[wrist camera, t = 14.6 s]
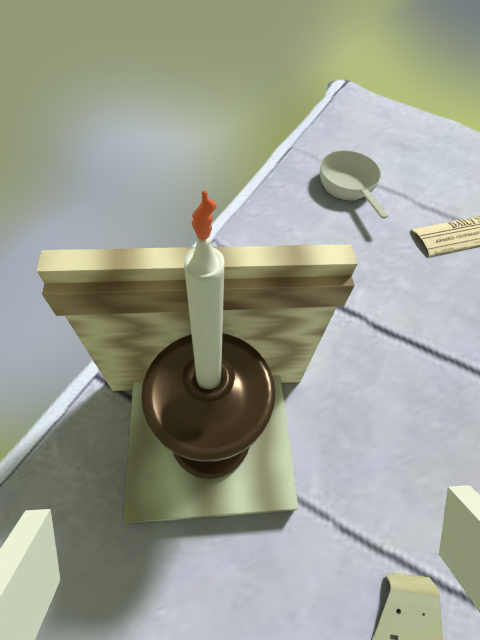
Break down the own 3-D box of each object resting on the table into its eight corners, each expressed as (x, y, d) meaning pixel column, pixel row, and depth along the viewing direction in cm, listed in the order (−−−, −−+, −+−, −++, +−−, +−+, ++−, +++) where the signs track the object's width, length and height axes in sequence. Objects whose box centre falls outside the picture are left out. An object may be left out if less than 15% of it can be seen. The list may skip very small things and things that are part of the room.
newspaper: (426, 259, 64) (431, 252, 62) (405, 229, 67) (409, 221, 66) (541, 235, 68) (548, 228, 67) (516, 208, 72) (522, 200, 70)
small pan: (357, 162, 75) (364, 145, 72) (404, 227, 67) (414, 210, 63) (307, 171, 73) (311, 153, 70) (349, 239, 64) (356, 222, 61)
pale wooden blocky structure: (297, 368, 51) (351, 244, 31) (320, 508, 43) (417, 466, 22) (114, 376, 49) (42, 250, 29) (98, 525, 41) (-21, 496, 20)
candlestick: (266, 480, 41) (395, 286, 12) (164, 495, 40) (18, 320, 10) (250, 386, 47) (311, 92, 17) (160, 396, 46) (58, 98, 16)
